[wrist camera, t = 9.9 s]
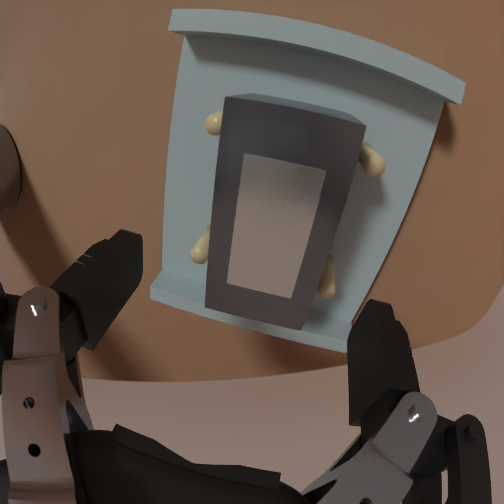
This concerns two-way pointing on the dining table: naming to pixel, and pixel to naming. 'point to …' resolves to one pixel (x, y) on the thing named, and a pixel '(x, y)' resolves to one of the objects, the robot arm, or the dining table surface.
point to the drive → (277, 204)
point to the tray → (309, 91)
